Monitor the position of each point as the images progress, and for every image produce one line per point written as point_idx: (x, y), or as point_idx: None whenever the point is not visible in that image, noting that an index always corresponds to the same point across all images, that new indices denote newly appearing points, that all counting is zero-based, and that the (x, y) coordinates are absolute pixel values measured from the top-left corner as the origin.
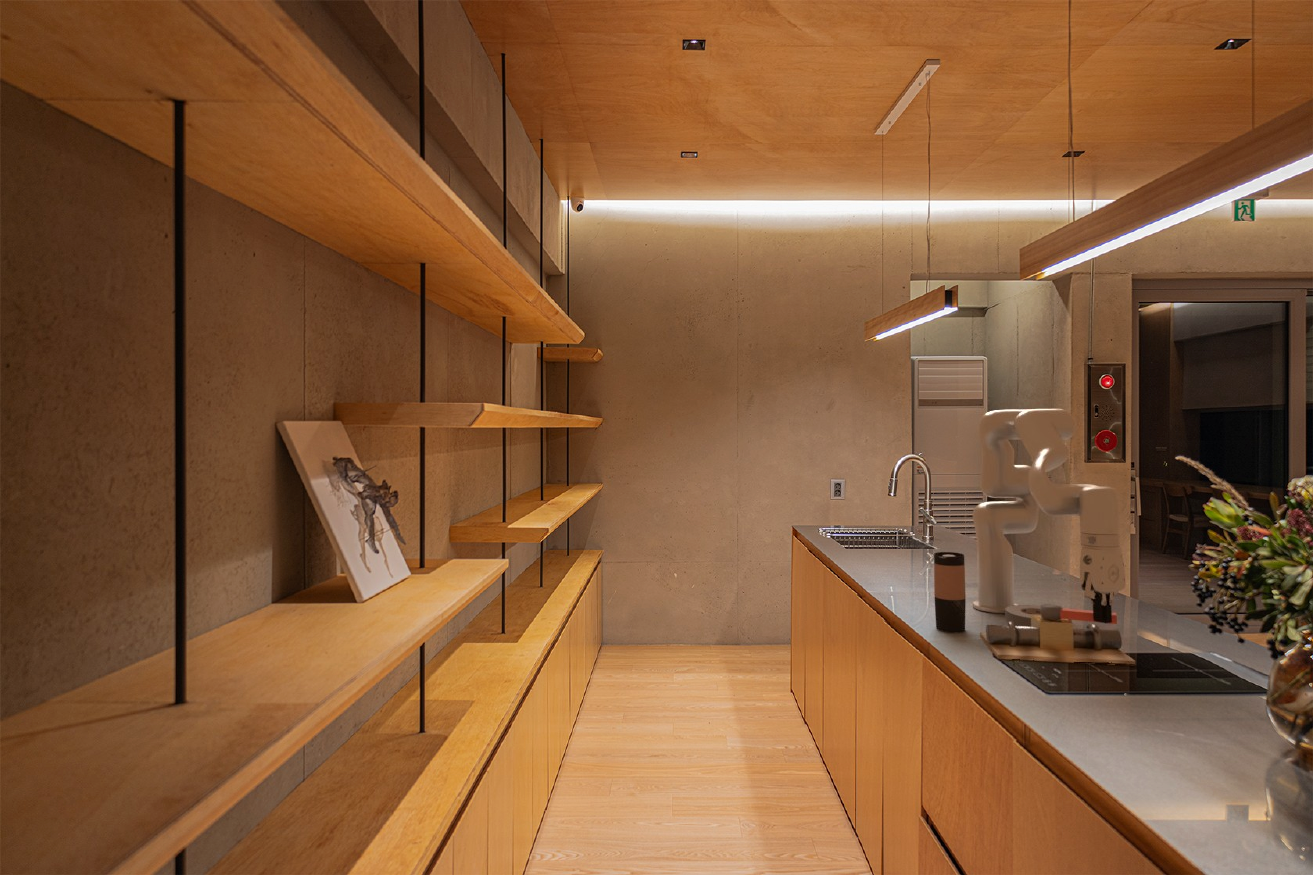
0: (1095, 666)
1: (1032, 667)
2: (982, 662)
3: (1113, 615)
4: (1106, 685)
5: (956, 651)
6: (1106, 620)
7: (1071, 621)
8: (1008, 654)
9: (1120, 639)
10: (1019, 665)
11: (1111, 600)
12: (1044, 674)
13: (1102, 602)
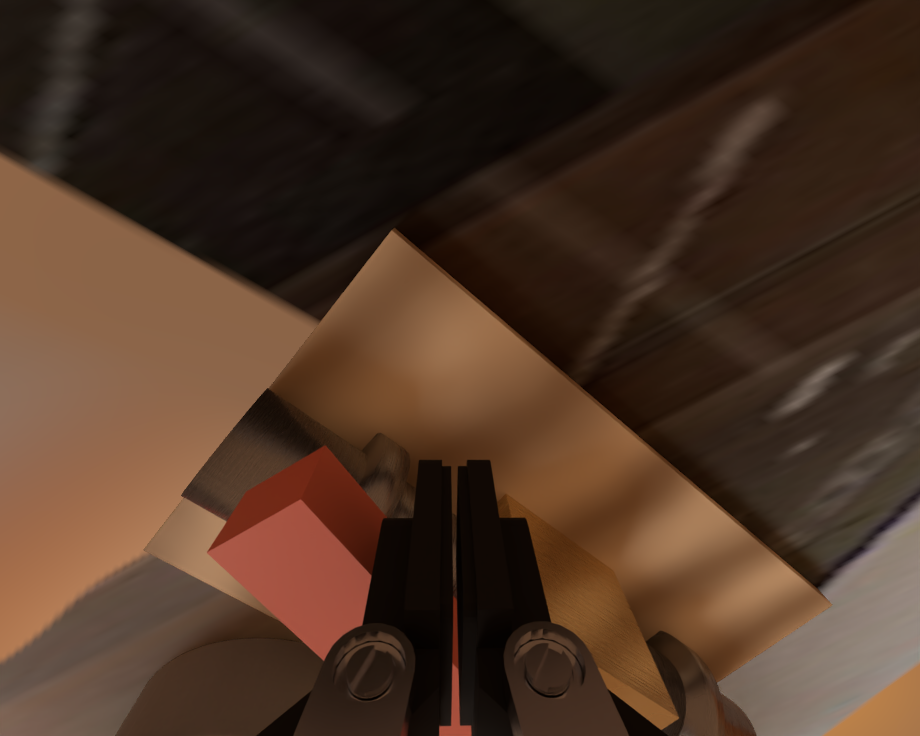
0: (596, 331)
1: (839, 464)
2: (909, 587)
3: (320, 518)
4: (900, 112)
5: (830, 694)
6: (492, 480)
7: (150, 717)
8: (798, 587)
9: (260, 407)
10: (849, 504)
11: (340, 692)
12: (913, 383)
13: (604, 683)
